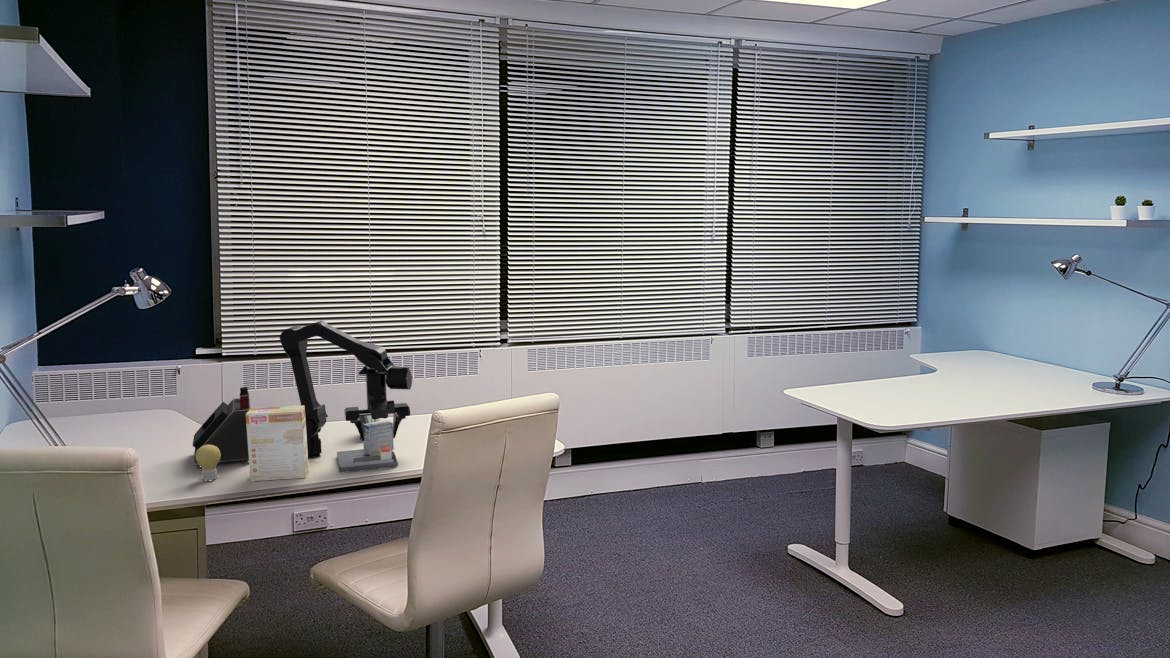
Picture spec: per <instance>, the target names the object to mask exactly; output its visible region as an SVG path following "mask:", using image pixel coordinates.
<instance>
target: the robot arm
mask: <svg viewBox="0 0 1170 658" xmlns="http://www.w3.org/2000/svg"><path fill="white" fill-rule="evenodd" d="M314 337H319V338H321V339H323V340H325V341H327V342H329V343H330V344H333V345H334V346H336V347H338V348H340V349H342V350H343V351H344V350H345V351H346V352H348V353H351V354H352V356H354V357H355V358H356V359H357V360H358V362H360V363H361V364H363V365H364V366H363V367H362V369H361V370H359V372H358V375H360V376H362V375H363V376H364V375H365V378H366V379H365V381H366V382H365V383H366V385H365V386H366V388H365V389H366V409H359V407H358V406H351V407H345V409H344V410H343V412H344V415H343V416H344V419H345V421H346V422H350V424H354V426H355V427H356V429H357V431H358V434H359V436H360V439H361V442H363V432H362V426H361V420H360V416H369V415H371V418H372V419H379V420H380V419H383V420H386V419H388V418H389V415H392V414H393V418H392V420H393V421H392V423H393V440H394V439H395V438H396V436H397V432H398V429H399V427H400V424H401V422H402V420H405V419H407V418H406V417H409V416H411V408H410V406H409V405H408V403H406V402H400V403H395V401H394V400H388V399H387V388H389V389H390V390H405V391H407V390H409V391H410V390H411V389H412V385H413V375H412V372H411V371H410V366H395V364H394V363H393V361H392V360H391V359H390V357H389V356H388V353H387V350H386V349H385V348H384V346H381V345H379V344H375V343H372V342H366V341H362V340H359V339H358V338H356V337H354V336H352V335H350V334H348V333H346V332H344V331H342V330H340V329H339V328H336V327H334V326H333V325H331V324H329V323H327V322H326V321H325V320H318V321H316V322H313V323H311V324H308V325H304V326H301V325H293V326H291V327H288V328H286V329H284V330H282V331H281V333H280V334H279V340H280V344H281V346H282V348H283V351H284V352H285V354H286V355H287V356H288V357H289V359H290V363H291V369H292V372H293V376H294V380H295V385H296V390H297V394H298V397H299V403H300V406H303V405H305V418H306V435H307V451H308V459H314V458H320V457H321V454H322V439H321V438H320V437H319V436H320V435H319V433H321V430H322V428H323V427H324V426H325V425H326V423H327V418H328V417H329V415H328V413H327V411H326V405H325V404H324V403H323V404H320V403H319V402H318V400H317V397H316V392H315V389H314V383H313V379H312V375H311V370H310V367H309V366H310V365H309V362H308V358H307V351H308V344H309V343H308V339H311V338H314Z"/></svg>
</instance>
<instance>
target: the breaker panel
mask: <svg viewBox="0 0 1170 658" xmlns="http://www.w3.org/2000/svg"><path fill="white" fill-rule="evenodd" d="M391 452H392V459H386V460H380V455H373V456H370V455H369V454H367V453H365V452H364V448H361V449H353V450H341V451H336V457H337V459H336V460H337V461H338V465H339V471H340V473H349V472H360V470H361V471H369V470H370V471H371V470H380V469H387V468H388V467H389V468H397V467H396V466H399V461H398V459H397V456H396V454H395V452H394V450H391ZM379 468H380V469H379Z"/></svg>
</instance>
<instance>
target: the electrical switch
mask: <svg viewBox="0 0 1170 658" xmlns="http://www.w3.org/2000/svg"><path fill="white" fill-rule="evenodd" d="M360 420H361V426H362V432H363V424H367V423H372V422H377V421H381V420H380V418H379V419H372V418H371V415H369V416H360Z"/></svg>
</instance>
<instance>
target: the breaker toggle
mask: <svg viewBox="0 0 1170 658" xmlns="http://www.w3.org/2000/svg"><path fill="white" fill-rule="evenodd" d="M386 459H392V452H391V449H390V447H389V446H384V447H381V449H380V460H386Z"/></svg>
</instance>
